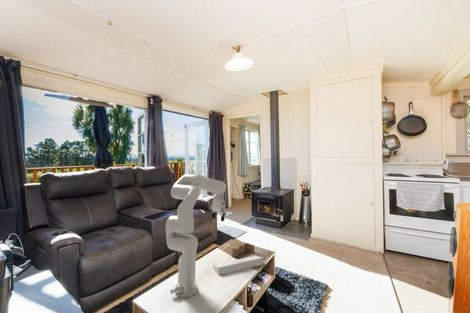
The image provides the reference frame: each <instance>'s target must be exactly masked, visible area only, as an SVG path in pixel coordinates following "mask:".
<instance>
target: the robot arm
mask: <svg viewBox="0 0 470 313" xmlns="http://www.w3.org/2000/svg"><path fill="white" fill-rule="evenodd" d="M201 190H202V191H206V192H210V193H213V198H212V203H211V204H212V205H210V207H209V209H210V212H211V219H216V213H217V214H220V222H224V221H225V218H226V217H225V216H226V215H227V212H228V210H227V209H226V202H225V196H224V194H225V192H226V191H227V185H226V183H225V182H224V181H223V180H219V179H218V180H217V179H214V178H209V177H207V176H204V175H202V174H199V173H198V174H197V173H195V174H194V173H185V174H183V175H182V176H181V177H180V178H179V179H178V180H177V181H176V182H175V183H174V184H173V185H172V187H171V189H170V196H171V197H172V199H176V200H182V201H181V202H180V203H179V205H178V207H177V210H176V215H170V216H169V217H168V218H167V219H166V223H165V236H166V245H167V248H168V249H169V250H171V251H177V252H180V253H182V254H181V255H180V257H179V258H178V263H177V264H178V265H177V266H178V269H177V270H178V272H177V273H178V274H177V276H178V277H177V283H176V286H175V287H174V288H172V289H170V290H169V292H170V294H171V295H172V294H174V295H176V296H177V297H179V298H189V297H192V296H194V295H196V294H197V292H198V290H199V289H198V288H199V287H198V285H197V283H196V258H197V257H196V255H197V249H198V244H199V240H198V238H197V237H196V236H195V235H194V234H193V235H192V233H193V232H194V226H195V225H194V223H195V222H194V207H195V204H196V203H197V201H198V199H199V197H200V195H201V194H200V193H201Z"/></svg>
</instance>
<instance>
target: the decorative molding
mask: <svg viewBox="0 0 470 313" xmlns="http://www.w3.org/2000/svg"><path fill="white" fill-rule="evenodd" d="M263 265H264V260H263V257H261V256H257V255H253V256H248V257H242V258H239V259H234V260H229V261H226V262H221V263H219V262H218V263H216V264H213V265H212V267H213V270H214V271H215V272H216V275H218V276H221V275H226V274H230V273H233V272H234V273H235V272H238V271H243V270H246V269H251V268H254V267H258V266H263Z"/></svg>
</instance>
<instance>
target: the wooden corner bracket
mask: <svg viewBox="0 0 470 313" xmlns="http://www.w3.org/2000/svg"><path fill="white" fill-rule="evenodd" d="M244 252H248V253H251V254H255V245H254V244H251V243H249V242H244V243H242V244H239V245H237V246H235V247H233V248H232V249H231V257H232V258H233V257H234V258H235V256H236V257H237V256H240V255H241V254H244Z"/></svg>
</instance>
